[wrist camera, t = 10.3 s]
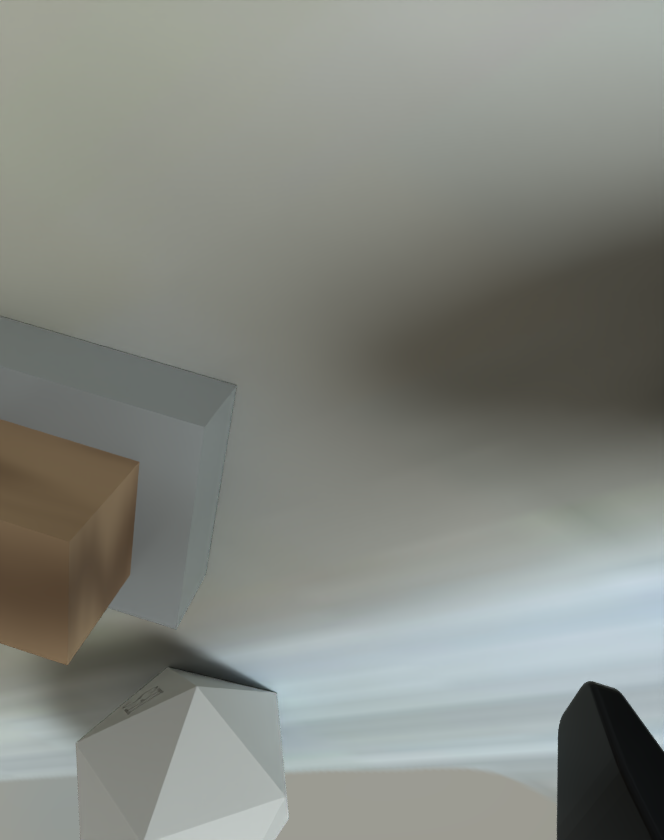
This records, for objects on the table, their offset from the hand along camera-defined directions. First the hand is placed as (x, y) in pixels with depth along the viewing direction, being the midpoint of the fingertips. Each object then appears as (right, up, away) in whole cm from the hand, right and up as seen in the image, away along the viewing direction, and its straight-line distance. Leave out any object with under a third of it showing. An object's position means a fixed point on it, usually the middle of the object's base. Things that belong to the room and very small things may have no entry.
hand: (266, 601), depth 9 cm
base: (-8, +1, +15) cm, 17 cm away
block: (-8, 0, +12) cm, 15 cm away
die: (-4, -11, +21) cm, 24 cm away
